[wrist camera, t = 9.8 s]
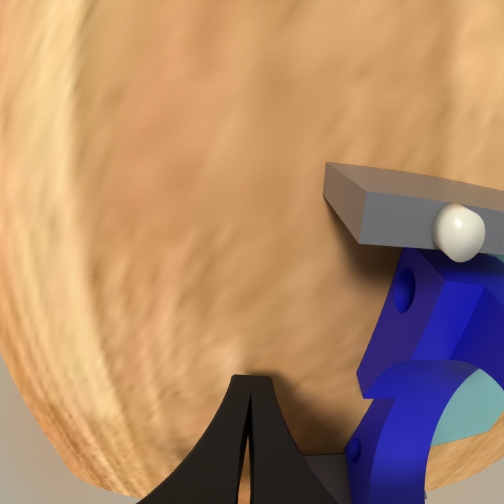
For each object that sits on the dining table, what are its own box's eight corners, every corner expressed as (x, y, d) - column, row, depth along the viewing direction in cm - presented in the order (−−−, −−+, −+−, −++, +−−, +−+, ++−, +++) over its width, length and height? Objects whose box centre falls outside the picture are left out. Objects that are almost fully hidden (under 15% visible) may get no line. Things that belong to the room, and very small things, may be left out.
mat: (586, 225, 9) (588, 226, 9) (487, 429, 15) (488, 431, 15) (498, 203, 9) (500, 204, 9) (393, 451, 15) (393, 453, 15)
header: (516, 194, 9) (599, 238, 5) (404, 453, 15) (421, 512, 11) (325, 162, 9) (377, 199, 5) (277, 463, 15) (278, 532, 11)
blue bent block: (405, 238, 10) (505, 353, 4) (496, 257, 10) (591, 345, 4) (318, 447, 15) (325, 545, 9) (392, 445, 15) (411, 532, 9)
